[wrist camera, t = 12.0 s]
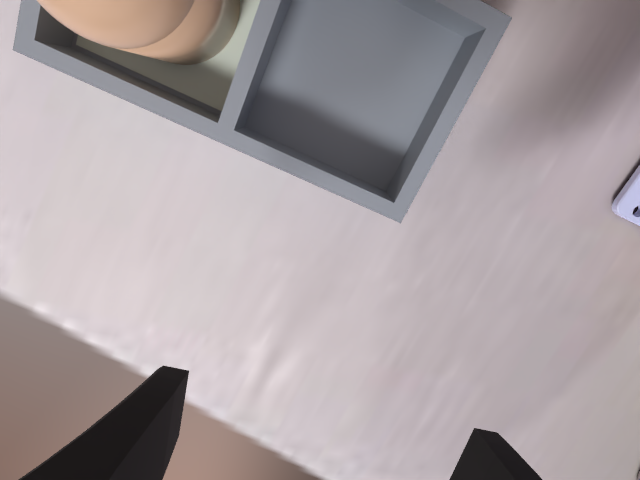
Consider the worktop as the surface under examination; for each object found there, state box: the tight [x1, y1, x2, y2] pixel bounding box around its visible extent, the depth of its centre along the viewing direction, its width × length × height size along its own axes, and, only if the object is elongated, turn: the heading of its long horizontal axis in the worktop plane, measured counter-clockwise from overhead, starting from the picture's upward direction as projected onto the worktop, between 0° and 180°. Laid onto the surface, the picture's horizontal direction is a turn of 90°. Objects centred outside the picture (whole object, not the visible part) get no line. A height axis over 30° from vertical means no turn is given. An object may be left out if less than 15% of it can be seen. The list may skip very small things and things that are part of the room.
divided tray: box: [13, 0, 512, 223], centre depth 14 cm, size 15×8×3 cm, turn 66°
